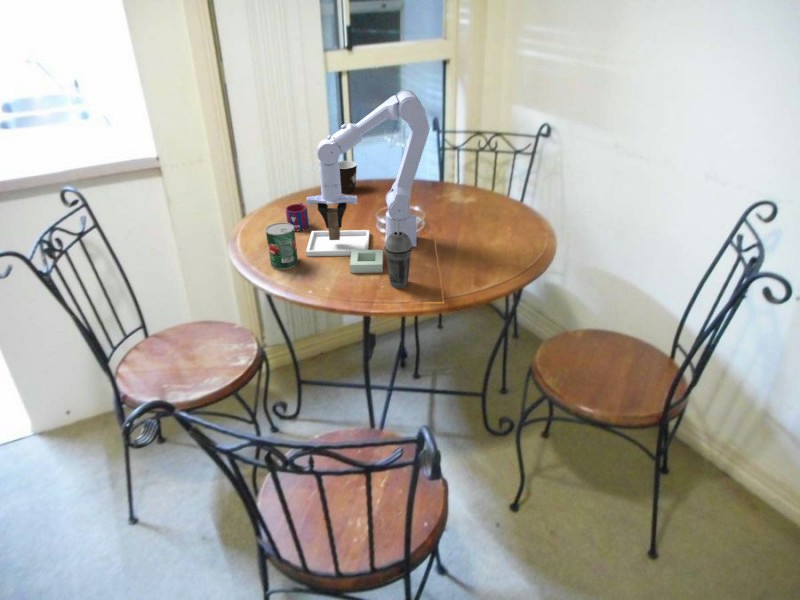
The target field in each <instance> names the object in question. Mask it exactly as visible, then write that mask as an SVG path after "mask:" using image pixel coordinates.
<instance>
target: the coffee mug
mask: <svg viewBox="0 0 800 600" xmlns="http://www.w3.org/2000/svg"><path fill="white" fill-rule="evenodd" d="M357 164H358V163H357V162H355V161H351V160H340V161H338V165H339V167H340V181H341V193H343V194H342V195H349V194H350V195H351V194H353V193H355V192H356V183H357V166H358V165H357Z"/></svg>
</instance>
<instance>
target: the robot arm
mask: <svg viewBox="0 0 800 600" xmlns="http://www.w3.org/2000/svg"><path fill="white" fill-rule="evenodd" d="M399 117H400V118H401V120H403V121H404V122H406V123H407V125H408V127H409V128H410V131H409V135H408V137H407V138H408V139H407V142H406V144H405V148H404V151H403V155H402V159H401V162H400V166H399V168H398V172H397V175H396V178H395V181H394V183H392V186H391V189H390V190H389V191H388V192H387V193H386V195H385V203H386V206H387V211H386V212H385V233H386V234H385V236H384V243H385V242H386V239H387V237H388V236H389V235H390V234H392V233H394V232H397V218H399V232H403V233H405V234H407V235H408V236H409V238H410V240H411V243H412V248H414V247H417V239H418V232H417V215H416V214H412V213H410V211H411V207H410V201H411V198H412V197H411V196H412V187H413V184H414V180H415V178H416V175H417V172H418V168H419V165H420V162H421V158H422V155H423V153H424V150H425V145H426V143H427V140H428V137H429V133H430V128H431V127H430V125H429V124H430V123H429V121H428V118H427V114H426V108H425V107H424V106H423V104H422V102H421V101H420V99H419V97H418V96H417V95H416V94H415V92H413V91H412V90H410V89H402V90H400V91H399V92H398V93H397V94H395V95H392V96H390V97H389V98H387V99H386V100H385V101H384V102H382V104H379V106H378V107H376V108H375V109H374V110H373V111H371V112H370V113H368V114H367V115H366V116H364V117H363V118H362V119H360V121H359V122H357V123H351V122H349V123H348V124H346V123H344V124H342V125H341V126H340V128H341V129H339V130H338V131H336V132H335V133H333V134H332V135H331V134H329V135H328V136H326V138H325V139H321V141H320V142H319V143H318V144H317V158H318V166H319V169H318V170H319V180H320V181H319V182H320V192H321V193H320V194H319V195H318V194H317V195H312V196H306V206H311V205H317V210H318V212H319V213H320V216H322V218H323V220H324V224H325V226H326V228H327V229H329V228H328V217H327V211H328V208H329V206H334V205H337V207H336V208H337V210H338V218H339V228H340V229H341V228H342V224H343V223H342V222H343V217H344V214H345V213H346V212H345V211H346V209H347V205H351V204H352V205H358V195H351V194H350V195H349V194H341V181H340V167H339V165H338V162H339V158H340V156H341V155H344V154H345V153H347V152H348V151H350V150H351V149H352V148H354V147H355V146H357V145H358V144H359V143H361V142H362V141H363V135H364V134H366V133H367V132H369V131H371V130H373V129H375V127H377V126H378V125H380V124H381V123H384V122H385V121H386V120H392V121H399Z"/></svg>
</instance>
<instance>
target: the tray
mask: <svg viewBox="0 0 800 600" xmlns="http://www.w3.org/2000/svg"><path fill="white" fill-rule="evenodd" d="M369 242H370V229H355V230H353V229H352V230H349V229H346V230H341V229H340V240H329V230H311V232H310V236H309V240H308V243H307V247H306V250H305V256H306V257H337V256H341V257H342V256H343V257H344V256H345V257H346V256H349V257H351V251H352V250H369Z"/></svg>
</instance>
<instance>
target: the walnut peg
mask: <svg viewBox="0 0 800 600" xmlns="http://www.w3.org/2000/svg"><path fill="white" fill-rule="evenodd" d="M327 217H328V228H327V229H328V231H329V240H340V231H341V228H339V218H338V210H337V207H328V211H327Z"/></svg>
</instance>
